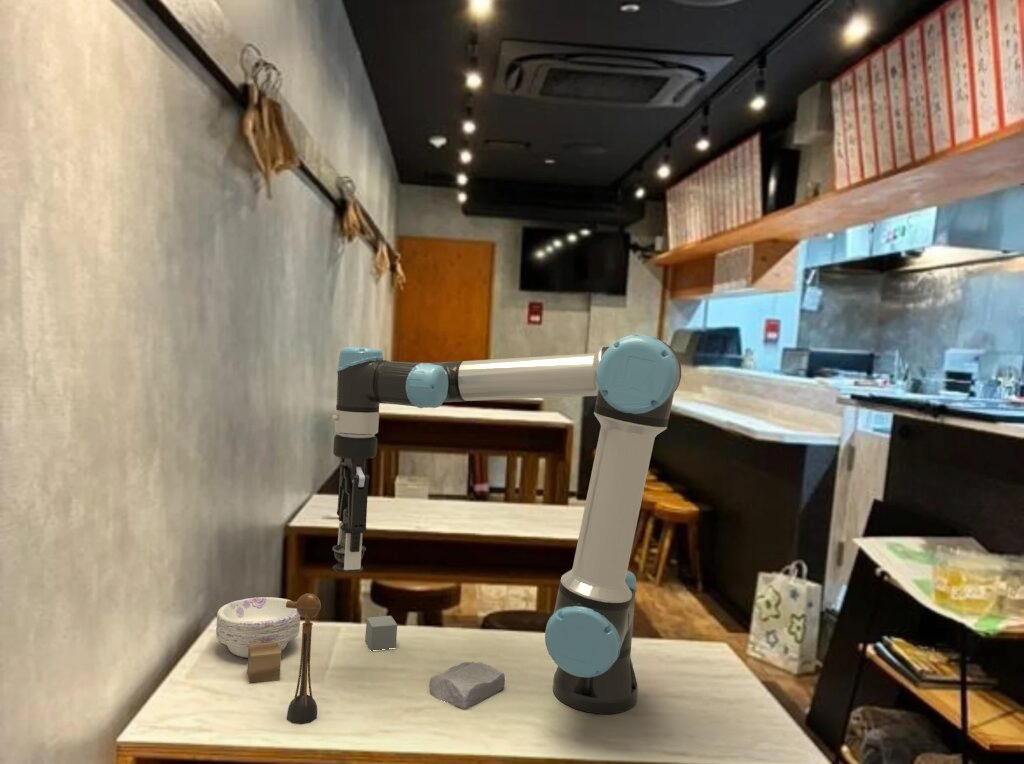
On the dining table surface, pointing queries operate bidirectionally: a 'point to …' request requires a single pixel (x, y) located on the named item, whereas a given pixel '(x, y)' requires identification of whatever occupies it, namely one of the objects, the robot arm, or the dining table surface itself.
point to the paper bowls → (256, 623)
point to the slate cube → (381, 633)
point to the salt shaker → (340, 549)
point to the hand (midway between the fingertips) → (348, 563)
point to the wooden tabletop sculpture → (304, 662)
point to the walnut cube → (264, 662)
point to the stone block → (466, 684)
